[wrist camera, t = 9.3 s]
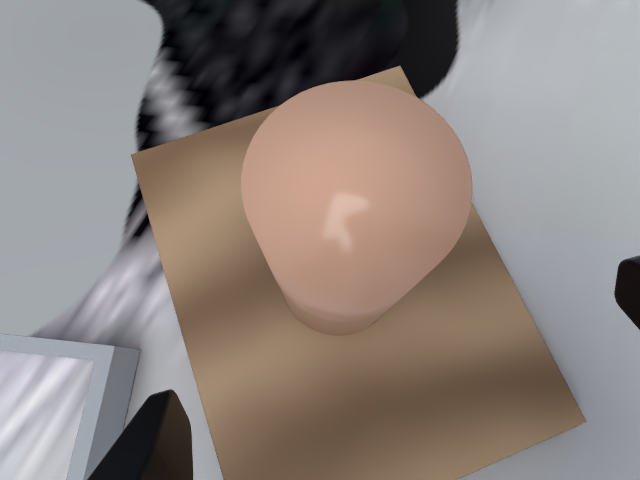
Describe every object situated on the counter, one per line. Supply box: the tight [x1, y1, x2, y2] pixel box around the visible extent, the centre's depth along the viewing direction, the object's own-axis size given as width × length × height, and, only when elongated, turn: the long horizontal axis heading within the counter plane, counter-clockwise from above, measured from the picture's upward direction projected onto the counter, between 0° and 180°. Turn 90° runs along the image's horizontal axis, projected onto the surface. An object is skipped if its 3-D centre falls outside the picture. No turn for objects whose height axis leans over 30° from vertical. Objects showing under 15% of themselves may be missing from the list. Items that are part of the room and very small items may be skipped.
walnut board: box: [131, 66, 586, 480], centre depth 20 cm, size 18×14×1 cm
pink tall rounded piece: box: [241, 81, 472, 336], centre depth 14 cm, size 5×5×10 cm
